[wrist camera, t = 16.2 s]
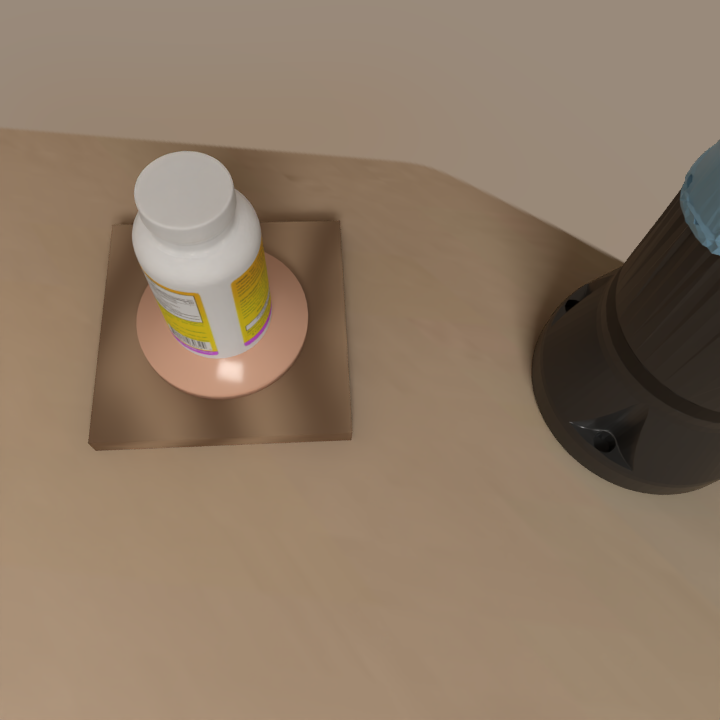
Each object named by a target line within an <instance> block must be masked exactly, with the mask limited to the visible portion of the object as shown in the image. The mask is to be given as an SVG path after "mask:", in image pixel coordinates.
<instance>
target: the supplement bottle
mask: <svg viewBox="0 0 720 720" xmlns="http://www.w3.org/2000/svg"><path fill="white" fill-rule="evenodd" d="M134 198H135V203H136V206H137V208H138V213H137V215H136V217H135V220H134V223H133V229H132V242H133V248H134V251H135V254H136V257H137V259H138V262H139V264H140V266H141V268H142V271H143V273H144V275H145V277H146V279H147V281H148V283H149V286H150V288H151V290H152V292H153V294H154V297H155V299H156V301H157V303H158V305H159V307H160V310H161V312H162V314H163V316H164V318H165V321H166V323H167V325H168V327H169V329H170V331H171V332H172V334H173V336H174V337H175V338H176V340H177V341H178V342H179V343H180V344H181V345H182V346H183V347H184V348H186V349H187V350H189V351H190V352H192V353H194V354H196V355H199V356H202V357H206V358H215V359H220V358H228V357H233V356H236V355H239V354H241V353H243V352H245V351H247V350H249V349H250V348H252V347H253V346H254V345H256V344H257V343H258V342H259V341H260V339H261V338H262V337H263V336H264V334H265V332H266V331H267V329H268V327H269V324H270V321H271V315H272V303H271V295H270V288H269V282H268V274H267V267H266V261H265V254H264V247H263V241H262V234H261V228H260V223H259V219H258V216H257V214H256V212H255V210H254V208H253V206H252V205H251V203H250V202H249V201H248V199H247V198H246V197H245V196H244V195H243V194H241V193H240V192H239V191H238V190H236V189H235V188H234V184H233V180H232V177H231V175H230V173H229V172H228V170H227V169H226V168H225V166H224V165H223V164H222V163H221V162H219V161H218V160H217V159H215V158H213V157H211V156H209V155H207V154H204V153H200V152H193V151H179V152H173V153H169V154H166V155H163V156H161V157H159V158H157V159H156V160H154V161H153V162H151V163H150V164H149V165H147V166H146V167H145V168H144V169H143V171H142V172H141V173H140V175H139V177H138V179H137V181H136V184H135V189H134Z"/></svg>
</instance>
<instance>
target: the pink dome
mask: <svg viewBox="0 0 720 720" xmlns="http://www.w3.org/2000/svg"><path fill="white" fill-rule="evenodd" d="M264 254H265V261H266V267H267V274H268V282H269V288H270V295H271V303H272V315H271V321H270V324H269V327H268V329H267V331H266V332H265V334H264V336H263V337H262V338H261V339H260V341H259V342H258V343H257V344H256V345H254V346H253V347H252V348H250V349H249V350H247V351H245V352H243V353H241V354H239V355H236V356H233V357H228V358H220V359H215V358H206V357H202V356H199V355H196V354H194V353H192V352H190V351H189V350H187V349H186V348H184V347H183V346H182V345H181V344H180V343H179V342H178V341H177V340H176V338H175V337H174V336H173V334H172V332H171V331H170V329H169V327H168V325H167V323H166V321H165V318H164V316H163V314H162V312H161V310H160V307H159V305H158V303H157V301H156V299H155V297H154V294H153V292H152V290H151V288H150V286H149V284H148V286H147V287H146V289H145V291H144V293H143V295H142V297H141V300H140V303H139V306H138V311H137V318H136V328H137V335H138V340H139V343H140V346H141V348H142V350H143V353H144V355H145V357H146V358H147V360H148V362H149V363H150V365H151V366H152V368H153V369H154V371H155V372H156V373H157V374H158V375H159V376H160V377H161V378H162V379H163V380H164V381H166V382H167V383H168V384H169V385H171V386H172V387H174V388H176V389H177V390H179V391H182V392H184V393H186V394H189V395H192V396H195V397H199V398H204V399H211V400H226V399H236V398H240V397H245V396H248V395H251V394H254V393H257V392H259V391H261V390H263V389H265V388H267V387H268V386H270V385H272V384H273V383H275V382H276V381H277V380H279V379H280V378H281V377H282V376H283V375H285V374H286V372H287V371H288V370H289V369H290V368H291V367H292V366H293V364H294V363H295V361H296V360H297V359H298V357H299V355H300V353H301V351H302V349H303V346H304V344H305V341H306V337H307V331H308V308H307V301H306V298H305V294H304V291H303V289H302V287H301V285H300V283H299V281H298V280H297V278H296V277H295V275H294V274H293V273H292V272H291V271H290V269H289V268H287V267H286V266H285V265H284V264H283V263H282V262H281V261H279V260H278V259H276V258H275V257H273V256H271V255H269V254H268V253H266V252H264Z"/></svg>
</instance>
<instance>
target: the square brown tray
mask: <svg viewBox="0 0 720 720" xmlns="http://www.w3.org/2000/svg"><path fill="white" fill-rule="evenodd" d="M259 223H260V228H261V234H262V241H263V247H264V252H266V253H268V254H269V255H271V256H273V257H275V258H276V259H278V260H279V261H281V262H282V263H283V264H284V265H285V266H286V267H287V268H289V269H290V271H291V272H292V273H293V274H294V275H295V277H296V278H297V280H298V281H299V283H300V285H301V287H302V289H303V291H304V294H305V298H306V301H307V308H308V331H307V337H306V341H305V344H304V346H303V349H302V351H301V353H300V355H299V357H298V359H297V360H296V361H295V363H294V364H293V366H292V367H291V368H290V369H289V370H288V371H287V372H286V374H285V375H283V376H282V377H281V378H280V379H279V380H277V381H276V382H275V383H273V384H272V385H270V386H268V387H267V388H265V389H263V390H261V391H259V392H257V393H254V394H251V395H248V396H245V397H240V398H236V399H226V400H211V399H204V398H199V397H195V396H192V395H189V394H186V393H184V392H182V391H179V390H177V389H176V388H174V387H172V386H171V385H169V384H168V383H167V382H166V381H164V380H163V379H162V378H161V377H160V376H159V375H158V374H157V373H156V372H155V371H154V369H153V368H152V366H151V365H150V363H149V362H148V360H147V358H146V357H145V355H144V353H143V350H142V348H141V346H140V343H139V340H138V335H137V328H136V318H137V311H138V306H139V303H140V300H141V297H142V295H143V293H144V291H145V289H146V287H147V286H148V284H149V283H148V281H147V279H146V277H145V275H144V273H143V271H142V268H141V266H140V264H139V262H138V259H137V257H136V254H135V251H134V248H133V242H132V229H133V224H127V225H112V234H111V243H110V252H109V261H108V270H107V279H106V288H105V297H104V306H103V315H102V324H101V333H100V342H99V351H98V360H97V369H96V378H95V387H94V396H93V405H92V414H91V423H90V432H89V441H88V444H89V445H90V446H91V447H93V448H94V449H95V450H96V451H98V450H122V449H146V448H170V447H194V446H218V445H242V444H266V443H290V442H314V441H338V440H351V438H352V420H351V403H350V386H349V369H348V352H347V335H346V317H345V300H344V283H343V266H342V249H341V232H340V221H300V222H259Z"/></svg>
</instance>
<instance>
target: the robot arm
mask: <svg viewBox="0 0 720 720" xmlns="http://www.w3.org/2000/svg"><path fill="white" fill-rule="evenodd" d="M532 380H533V387H534V392H535V397H536V400H537V403H538V406H539V409H540V411H541V414H542V416H543V418H544V420H545V422H546V424H547V425H548V427H549V429H550V430H551V432H552V433H553V435H554V436H555V438H556V439H557V440H558V442H559V443H560V444H561V445H562V446H563V448H564V449H565V450H566V451H567V452H568V453H569V454H570V455H571V456H572V457H573V458H574V459H576V460H577V461H578V462H579V463H580V464H582V465H583V466H584V467H585V468H587V469H588V470H590V471H591V472H593V473H594V474H596V475H598V476H599V477H601V478H603V479H605V480H607V481H609V482H611V483H613V484H615V485H618V486H620V487H623V488H626V489H630V490H633V491H637V492H642V493H648V494H658V495H671V494H680V493H686V492H690V491H694V490H697V489H700V488H703V487H705V486H707V485H709V484H711V483H713V482H716V481H718V480H720V140H719V141H718V142H717V143H716V144H715V145H714V146H712V147H711V148H709V149H708V150H707V151H705V152H704V153H703V154H702V155H701V156H700V157H699V158H698V159H697V160H696V162H695V163H694V164H693V165H692V167H691V168H690V170H689V172H688V173H687V175H686V177H685V182H684V184H683V186H682V188H681V190H680V191H679V193H678V194H677V195H676V197H675V198H674V199H673V201H672V202H671V203H670V205H669V206H668V207H667V209H666V210H665V211H664V213H663V214H662V215H661V217H660V218H659V219H658V221H657V222H656V223H655V225H654V226H653V227H652V228H651V229H650V231H649V232H648V233H647V234H646V236H645V237H644V239H643V240H642V241H641V242H640V243H639V245H638V246H637V247H636V249H635V250H634V251H633V253H632V254H631V255H630V256H629V258H628V259H627V261H626V262H625V263H624V264H623V266H622V267H620V268H618V269H616V270H614V271H612V272H610V273H608V274H606V275H604V276H602V277H600V278H598V279H596V280H594V281H592V282H590V283H588V284H586V285H584V286H582V287H581V288H579V289H578V290H576V291H575V292H574V293H572V294H571V295H570V296H569V297H568V298H566V299H565V300H564V301H563V302H562V303H561V305H560V306H559V307H558V308H557V309H556V311H555V312H554V313H553V315H552V316H551V318H550V319H549V321H548V322H547V324H546V325H545V327H544V329H543V330H542V332H541V334H540V336H539V338H538V341H537V344H536V347H535V351H534V356H533V363H532Z"/></svg>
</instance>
